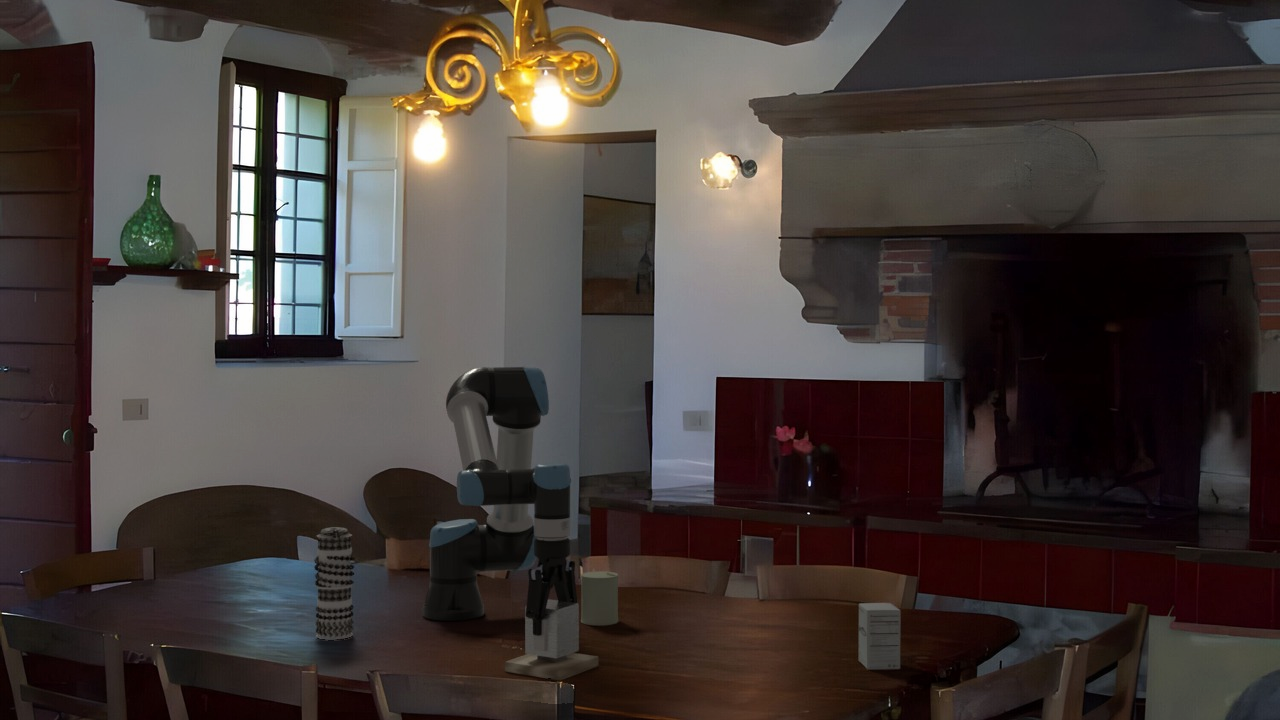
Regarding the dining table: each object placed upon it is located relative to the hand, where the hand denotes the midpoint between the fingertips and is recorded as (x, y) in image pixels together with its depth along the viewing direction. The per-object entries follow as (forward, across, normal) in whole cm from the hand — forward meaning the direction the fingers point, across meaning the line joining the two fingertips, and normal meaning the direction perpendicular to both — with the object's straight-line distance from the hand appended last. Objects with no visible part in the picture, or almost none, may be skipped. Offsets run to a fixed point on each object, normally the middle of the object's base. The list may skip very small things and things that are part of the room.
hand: (552, 646), depth 279 cm
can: (+5, +44, +17) cm, 47 cm away
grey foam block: (+1, 0, 0) cm, 1 cm away
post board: (+5, 0, 0) cm, 5 cm away
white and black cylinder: (+5, -2, +60) cm, 60 cm away
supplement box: (+5, +39, -57) cm, 69 cm away
